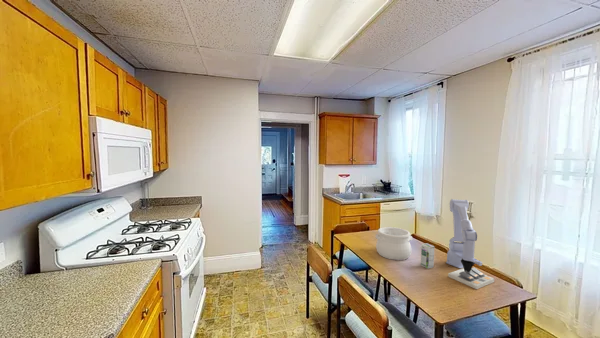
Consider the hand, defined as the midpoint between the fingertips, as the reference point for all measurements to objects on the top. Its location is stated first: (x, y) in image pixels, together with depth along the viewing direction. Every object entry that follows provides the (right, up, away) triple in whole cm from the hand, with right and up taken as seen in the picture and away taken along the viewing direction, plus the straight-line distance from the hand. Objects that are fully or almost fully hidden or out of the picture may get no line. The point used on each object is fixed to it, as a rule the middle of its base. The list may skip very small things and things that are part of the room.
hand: (467, 272), depth 151 cm
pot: (-32, -1, +34) cm, 47 cm away
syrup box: (-17, -2, +15) cm, 23 cm away
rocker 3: (+6, 0, 0) cm, 6 cm away
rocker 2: (+1, 0, -2) cm, 3 cm away
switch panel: (+1, -3, -2) cm, 4 cm away
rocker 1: (-4, 0, -5) cm, 6 cm away
